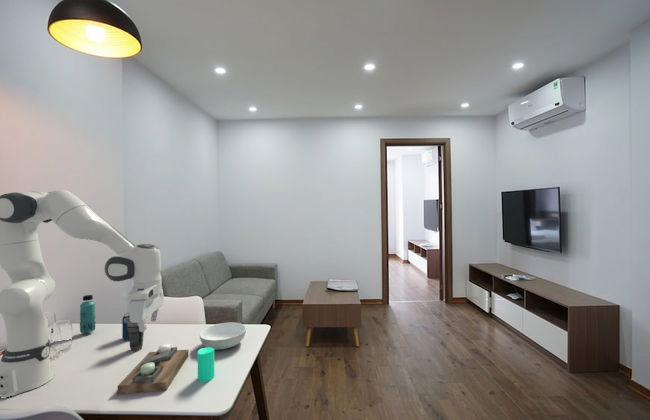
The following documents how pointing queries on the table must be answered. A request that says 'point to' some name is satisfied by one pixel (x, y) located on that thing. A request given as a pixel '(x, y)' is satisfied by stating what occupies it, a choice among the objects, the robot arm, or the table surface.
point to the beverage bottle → (87, 315)
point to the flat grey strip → (157, 358)
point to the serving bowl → (222, 335)
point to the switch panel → (154, 374)
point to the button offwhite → (164, 348)
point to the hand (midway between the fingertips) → (148, 325)
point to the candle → (205, 364)
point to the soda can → (125, 327)
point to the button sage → (147, 368)
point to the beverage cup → (135, 336)
